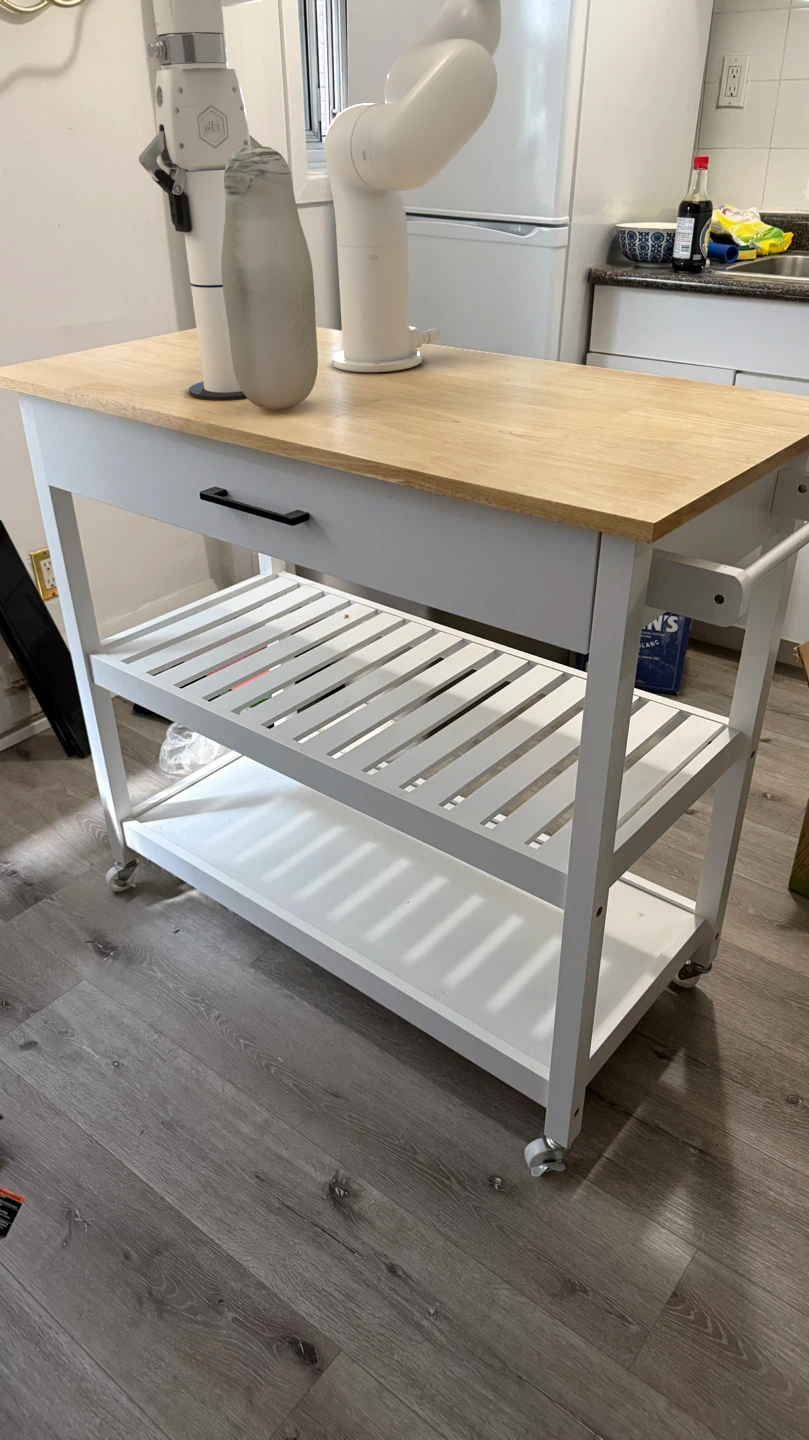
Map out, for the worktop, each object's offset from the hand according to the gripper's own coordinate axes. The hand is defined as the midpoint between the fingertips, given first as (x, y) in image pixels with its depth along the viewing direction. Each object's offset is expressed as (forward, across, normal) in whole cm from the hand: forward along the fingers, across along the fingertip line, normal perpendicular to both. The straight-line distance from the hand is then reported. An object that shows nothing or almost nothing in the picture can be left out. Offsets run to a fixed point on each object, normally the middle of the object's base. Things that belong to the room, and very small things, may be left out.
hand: (213, 227), depth 125 cm
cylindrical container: (+19, 0, 0) cm, 19 cm away
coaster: (+19, 0, 0) cm, 19 cm away
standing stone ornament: (+20, 0, -12) cm, 23 cm away
